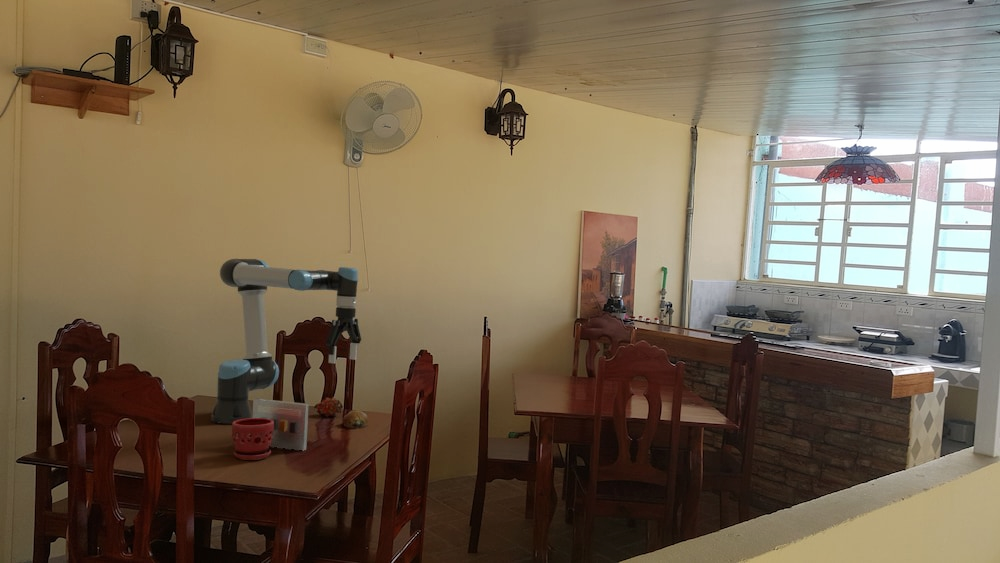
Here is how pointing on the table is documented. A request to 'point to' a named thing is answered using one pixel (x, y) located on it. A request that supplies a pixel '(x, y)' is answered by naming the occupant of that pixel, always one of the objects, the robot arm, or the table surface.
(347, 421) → the bread roll
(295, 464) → the table surface
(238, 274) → the robot arm
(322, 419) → the table surface
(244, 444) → the plant pot
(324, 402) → the dragon fruit
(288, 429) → the breaker panel
